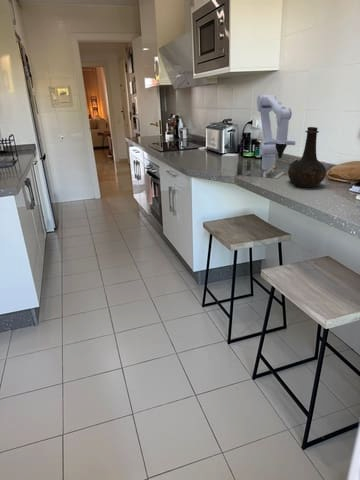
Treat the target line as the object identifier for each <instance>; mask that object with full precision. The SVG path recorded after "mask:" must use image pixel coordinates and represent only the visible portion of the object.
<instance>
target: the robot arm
mask: <svg viewBox="0 0 360 480" xmlns="http://www.w3.org/2000/svg"><path fill="white" fill-rule="evenodd" d="M256 106H257V111H258V112H259V114H260V121H261V130H262V135H263V140H262V141H261V142H260V143H259V153H260V155H261V156H262V157H261V158H262V159H261V169H262V170H263V171H268V170H269V169H270V168H271V167H272V166H273V165H274V166H275V167H274V169H275V168H276V156H278V157H277V158H278V159H282V157H283V155H284V152H285V150H286V148H287V147H288V146H295V145H296V140H295V141H294V140H288V134H289V125H290V124H289V123H290V122H289V121H290V120H291V118H292V114H293V113H292V110H291V108H286V106H284V105H283V103H282V102H281V101H279V102H278V100H277V95H276V94H273V93H272V94H258V96H257V97H256ZM270 112H273V113H274V114H275V119H276V125H277V127H276V138H275V139H274V138H273V133H272V132H273V131H272V126H271V125H272V124H271V118H270Z"/></svg>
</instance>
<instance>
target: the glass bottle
mask: <svg viewBox="0 0 360 480" xmlns="http://www.w3.org/2000/svg"><path fill="white" fill-rule="evenodd" d="M305 133H306V139H305V145H304V149H303V153H302V156H301V158H300V159H299V160H298V159H295V160H294V161H293V162H291V163H290V165H289V167H288V170H287V175H288V179H289V180H290V182H291V183H292V184H294V185H295V186H296V187H301V188H313V187H317V186H318V185H319V184H321V183H322V182H323V181H324V180H325V177H326V175H327V170H326V166H325V165H324V164H323V163H321V162H320V161H319V160H318V157H317V136H318V134H319V133H320V131H318V127H314V126H307V130H306V131H305Z"/></svg>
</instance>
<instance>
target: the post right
mask: <svg viewBox="0 0 360 480" xmlns="http://www.w3.org/2000/svg"><path fill="white" fill-rule="evenodd" d="M251 167H252V158H250V157H248V158H246V169H245V170H246V171H251V169H252V168H251Z"/></svg>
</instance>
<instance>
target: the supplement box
mask: <svg viewBox="0 0 360 480" xmlns="http://www.w3.org/2000/svg"><path fill="white" fill-rule="evenodd" d="M238 162H239V153H225V154H222V155H221V178H223V177H229V178H230V177H231V178H234V177H236V176H239V175H238Z"/></svg>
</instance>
